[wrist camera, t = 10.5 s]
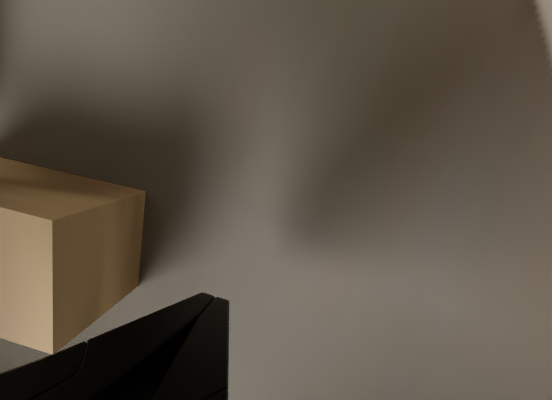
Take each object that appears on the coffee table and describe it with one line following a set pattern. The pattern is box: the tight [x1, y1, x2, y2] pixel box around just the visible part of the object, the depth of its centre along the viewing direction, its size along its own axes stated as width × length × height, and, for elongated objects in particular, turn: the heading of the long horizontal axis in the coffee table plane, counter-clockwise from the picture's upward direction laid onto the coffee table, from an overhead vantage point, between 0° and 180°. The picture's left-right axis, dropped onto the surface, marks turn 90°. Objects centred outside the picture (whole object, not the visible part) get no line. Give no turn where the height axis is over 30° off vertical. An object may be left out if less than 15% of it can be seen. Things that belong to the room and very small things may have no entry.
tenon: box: [0, 157, 146, 354], centre depth 10 cm, size 7×4×4 cm, turn 79°
